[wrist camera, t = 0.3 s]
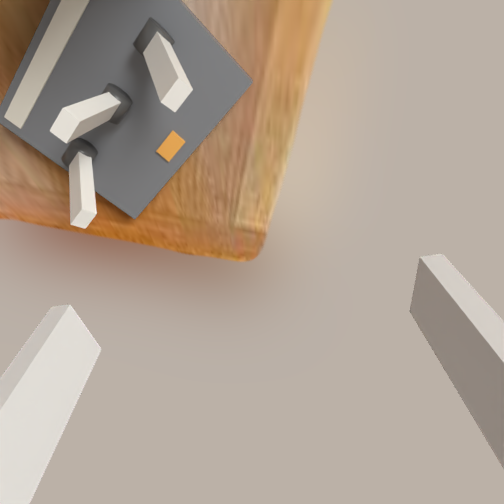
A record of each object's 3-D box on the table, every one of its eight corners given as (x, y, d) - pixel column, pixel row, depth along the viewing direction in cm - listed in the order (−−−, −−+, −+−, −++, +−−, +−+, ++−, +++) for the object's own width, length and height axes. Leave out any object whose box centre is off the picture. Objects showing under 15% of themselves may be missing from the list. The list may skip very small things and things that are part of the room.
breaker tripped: (100, 102, 29) (39, 126, 21) (113, 81, 28) (55, 98, 20) (122, 121, 30) (73, 151, 22) (136, 101, 29) (89, 125, 21)
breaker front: (131, 38, 26) (151, 99, 20) (147, 12, 25) (172, 68, 19) (155, 59, 28) (180, 119, 22) (171, 35, 27) (201, 92, 21)
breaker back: (61, 151, 31) (61, 223, 25) (72, 133, 30) (75, 204, 24) (85, 162, 33) (91, 232, 27) (97, 145, 32) (104, 214, 26)
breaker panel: (13, 113, 33) (-9, 119, 30) (110, -79, 25) (93, -95, 22) (142, 208, 39) (134, 220, 36) (252, 79, 31) (252, 83, 28)
